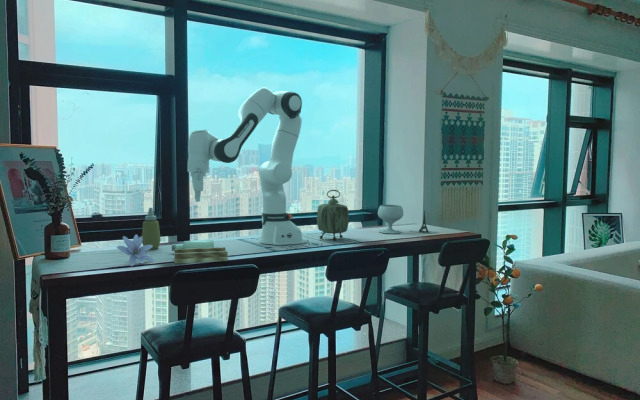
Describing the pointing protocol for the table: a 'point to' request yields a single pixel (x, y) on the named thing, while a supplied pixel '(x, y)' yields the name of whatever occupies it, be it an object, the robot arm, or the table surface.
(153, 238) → the squeeze bottle
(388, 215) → the chalice
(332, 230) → the tabletop clock
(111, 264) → the table surface
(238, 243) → the table surface
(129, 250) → the water lily
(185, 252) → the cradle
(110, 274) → the table surface
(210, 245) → the bottle
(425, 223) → the eiffel tower figurine
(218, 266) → the table surface
